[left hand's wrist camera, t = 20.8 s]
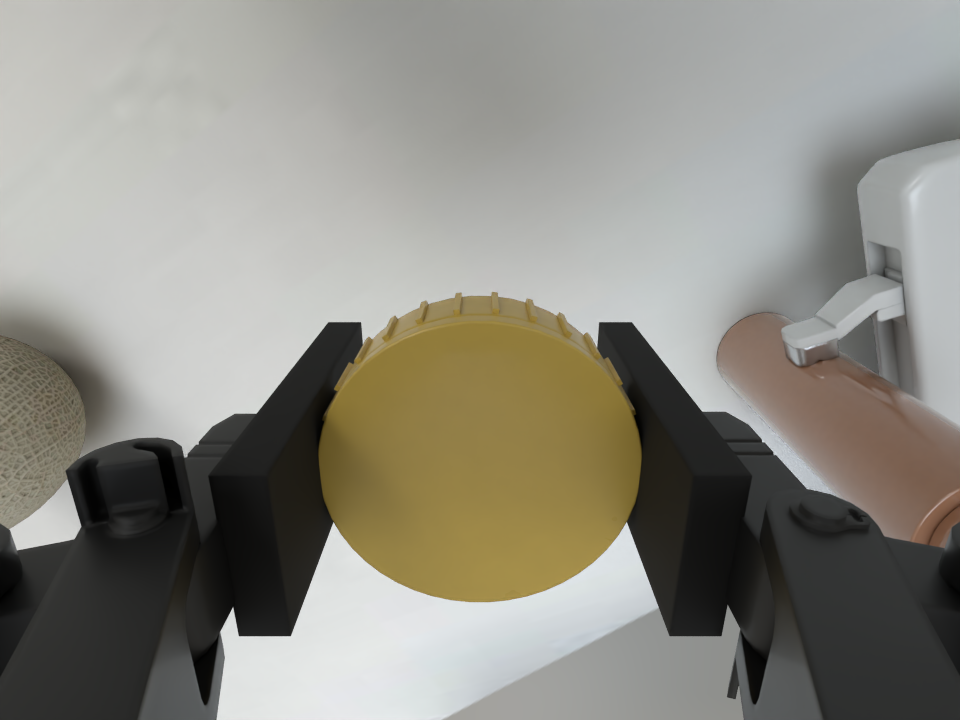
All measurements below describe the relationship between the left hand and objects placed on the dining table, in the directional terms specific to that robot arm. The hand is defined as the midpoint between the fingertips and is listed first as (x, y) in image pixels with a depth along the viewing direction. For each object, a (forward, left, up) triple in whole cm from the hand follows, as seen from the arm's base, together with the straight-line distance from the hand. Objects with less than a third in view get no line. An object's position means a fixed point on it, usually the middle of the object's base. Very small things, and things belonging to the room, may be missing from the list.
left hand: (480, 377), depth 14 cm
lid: (0, 0, +4) cm, 4 cm away
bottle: (+14, -11, -20) cm, 26 cm away
